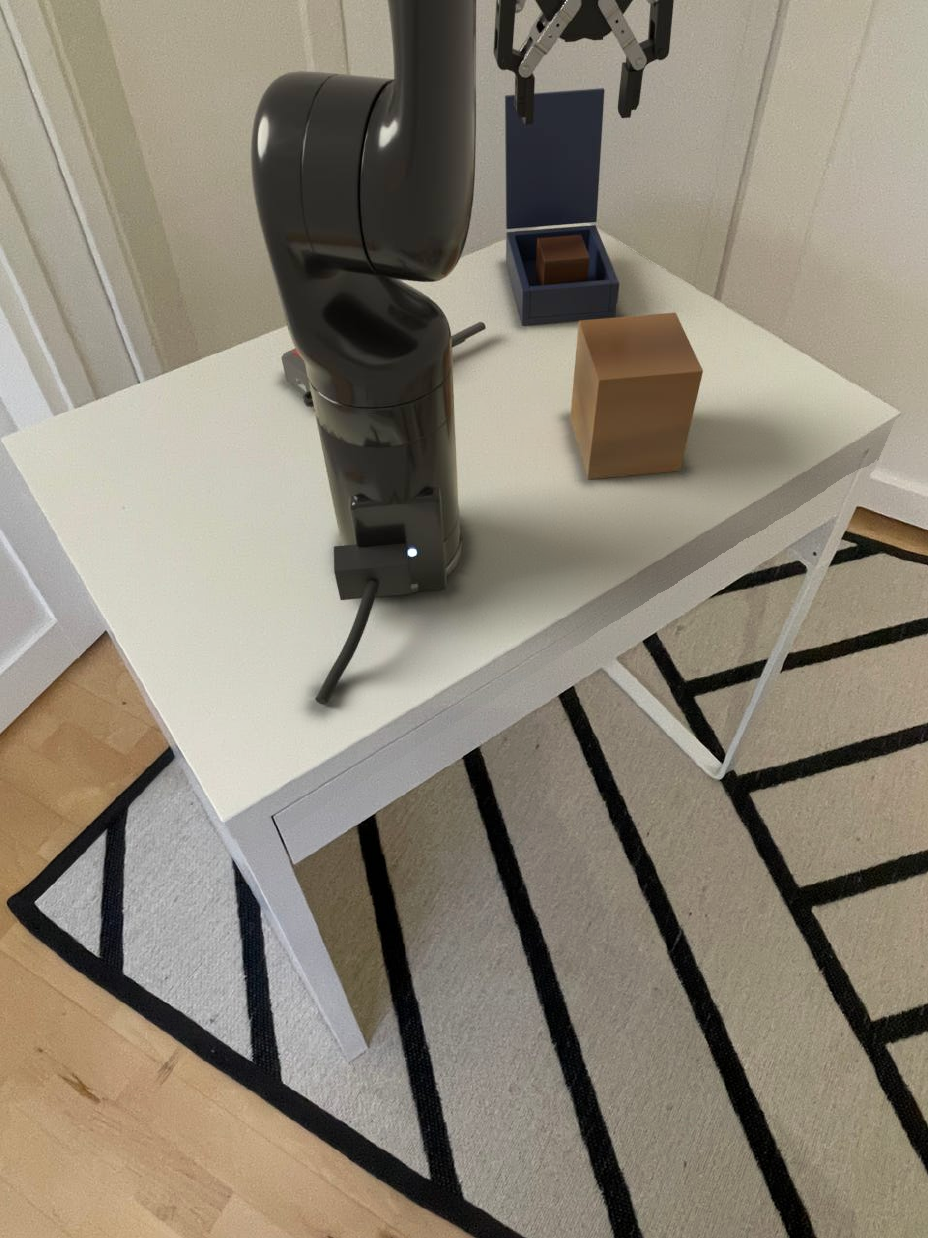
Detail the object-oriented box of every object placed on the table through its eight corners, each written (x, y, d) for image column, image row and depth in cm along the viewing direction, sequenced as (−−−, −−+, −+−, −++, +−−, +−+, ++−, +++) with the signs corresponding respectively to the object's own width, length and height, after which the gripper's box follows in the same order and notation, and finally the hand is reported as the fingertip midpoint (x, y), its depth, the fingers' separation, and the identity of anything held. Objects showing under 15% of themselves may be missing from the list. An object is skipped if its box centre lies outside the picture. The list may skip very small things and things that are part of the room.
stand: (680, 470, 72) (703, 370, 64) (587, 479, 72) (598, 380, 64) (657, 411, 77) (675, 311, 69) (569, 419, 77) (578, 320, 69)
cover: (604, 89, 82) (594, 78, 86) (505, 96, 82) (499, 85, 85) (596, 222, 90) (587, 207, 94) (506, 229, 90) (500, 214, 93)
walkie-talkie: (323, 428, 77) (491, 341, 85) (315, 387, 74) (491, 301, 81) (272, 383, 81) (436, 305, 89) (262, 343, 78) (434, 265, 85)
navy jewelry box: (615, 317, 87) (619, 282, 84) (521, 325, 86) (522, 291, 83) (592, 258, 94) (595, 224, 91) (505, 265, 93) (506, 231, 90)
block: (586, 299, 87) (589, 257, 84) (542, 302, 87) (544, 261, 84) (577, 275, 90) (581, 234, 87) (535, 279, 90) (537, 237, 86)
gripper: (503, -108, 59) (500, 141, 72) (704, -119, 60) (667, 130, 73) (489, -132, 64) (489, 106, 77) (676, -142, 65) (645, 95, 77)
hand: (575, 117), depth 75 cm, fingers open, 8 cm apart
